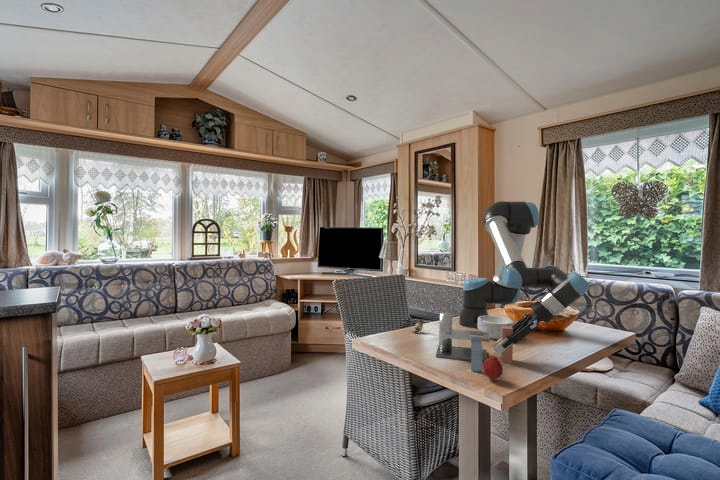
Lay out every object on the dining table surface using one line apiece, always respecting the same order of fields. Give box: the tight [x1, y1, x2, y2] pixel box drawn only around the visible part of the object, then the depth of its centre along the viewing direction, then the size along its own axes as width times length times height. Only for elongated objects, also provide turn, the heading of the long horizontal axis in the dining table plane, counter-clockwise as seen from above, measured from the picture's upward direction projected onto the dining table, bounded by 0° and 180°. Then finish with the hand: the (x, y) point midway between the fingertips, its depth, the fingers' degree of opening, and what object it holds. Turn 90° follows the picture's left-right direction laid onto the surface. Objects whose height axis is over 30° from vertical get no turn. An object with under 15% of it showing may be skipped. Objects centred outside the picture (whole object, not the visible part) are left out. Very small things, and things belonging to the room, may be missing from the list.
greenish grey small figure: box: [411, 319, 424, 335], centre depth 163 cm, size 5×5×6 cm
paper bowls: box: [477, 314, 515, 340], centre depth 158 cm, size 15×15×8 cm
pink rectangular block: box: [500, 326, 514, 364], centre depth 127 cm, size 4×4×12 cm
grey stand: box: [435, 311, 491, 373], centre depth 128 cm, size 18×22×15 cm
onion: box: [482, 354, 504, 381], centre depth 110 cm, size 6×6×8 cm
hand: (495, 350), depth 128 cm, fingers closed on pink rectangular block, 3 cm apart
